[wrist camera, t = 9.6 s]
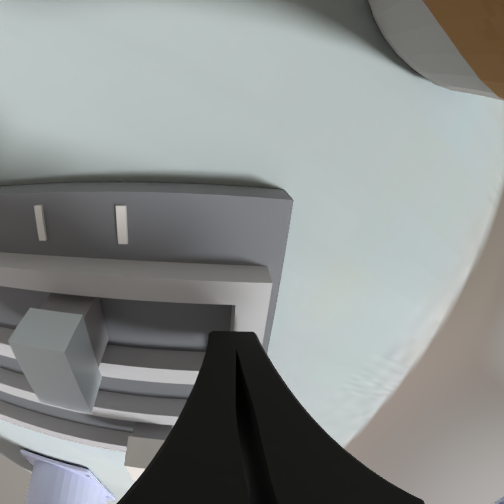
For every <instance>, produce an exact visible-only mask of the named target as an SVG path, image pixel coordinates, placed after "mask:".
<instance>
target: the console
mask: <svg viewBox="0 0 504 504" xmlns="http://www.w3.org/2000/svg"><path fill="white" fill-rule="evenodd" d="M292 206H293V199H292V198H291V197H290V196H289V194H288V193H287V192H286V191H285V190H282V189H270V188H257V187H244V186H228V185H211V184H189V183H158V182H74V183H45V184H26V185H10V186H0V419H2V420H5V421H8V422H10V423H13V424H16V425H18V426H21V427H24V428H27V429H30V430H33V431H36V432H39V433H43V434H46V435H49V436H53V437H56V438H60V439H64V440H68V441H72V442H76V443H80V444H85V445H89V446H94V447H99V448H104V449H110V450H116V451H122V452H126V450H127V443H128V436H133V429H134V423H135V422H143V423H152V424H164V425H175V423H176V421H177V419H178V417H179V415H180V413H181V412H182V410H183V408H184V405H185V403H186V401H187V399H188V397H189V395H190V393H191V391H192V389H193V386H194V384H195V381H196V379H197V376H198V373H199V371H200V368H201V366H202V363H203V359H204V356H205V353H206V349H207V344H208V338H209V333H210V332H212V331H245V332H254V333H255V334H257V337H258V339H259V341H260V343H261V345H262V347H263V348H264V350H265V352H266V354H267V351H268V346H269V340H270V335H271V330H272V324H273V319H274V313H275V308H276V302H277V297H278V291H279V285H280V280H281V274H282V268H283V262H284V256H285V250H286V244H287V238H288V231H289V225H290V219H291V212H292ZM51 292H52V293H61V294H70V295H80V296H91V297H100V302H101V307H102V312H103V317H104V321H105V326H106V330H107V334H108V338H109V340H108V343H107V345H106V348H105V351H104V354H103V357H102V360H101V363H100V366H99V371H100V373H101V376H102V379H101V383H100V386H99V389H98V393H97V396H96V400H95V403H94V407H93V411H92V414H89V413H84V412H79V411H74V410H70V409H65V408H61V407H57V406H53V405H49V404H45V403H41V402H40V401H39V399H38V398H37V396H36V394H35V393H34V391H33V389H32V387H31V386H30V384H29V382H28V380H27V378H26V377H25V375H24V373H23V371H22V369H21V367H20V365H19V363H18V361H17V359H16V357H15V355H14V353H13V351H12V349H11V347H10V345H9V342H8V340H9V338H10V336H11V335H12V333H13V332H14V330H15V329H16V327H17V326H18V324H19V323H20V321H21V320H22V318H23V317H24V316H25V314H26V313H27V311H28V310H29V308H36V309H40V308H41V306H42V305H43V303H44V302H45V300H46V299H47V297H48V296H49V295H50V293H51Z"/></svg>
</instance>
